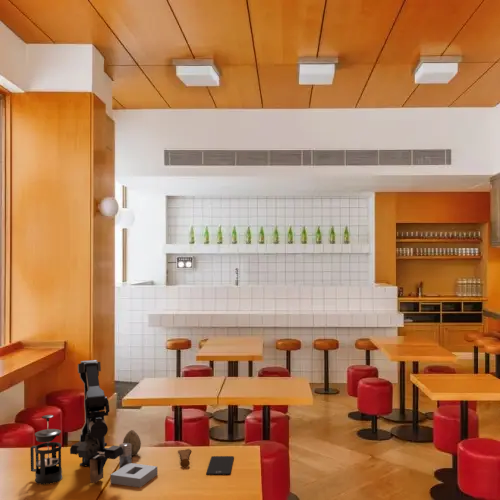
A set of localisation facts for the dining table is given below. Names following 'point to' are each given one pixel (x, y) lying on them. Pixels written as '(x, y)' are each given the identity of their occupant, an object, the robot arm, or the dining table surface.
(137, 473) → the slotted block
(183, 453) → the primitive tool
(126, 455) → the round metal peg
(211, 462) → the cell phone
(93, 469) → the walnut bar
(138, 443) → the decorative egg
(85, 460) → the robot arm
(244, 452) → the dining table surface
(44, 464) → the french press
